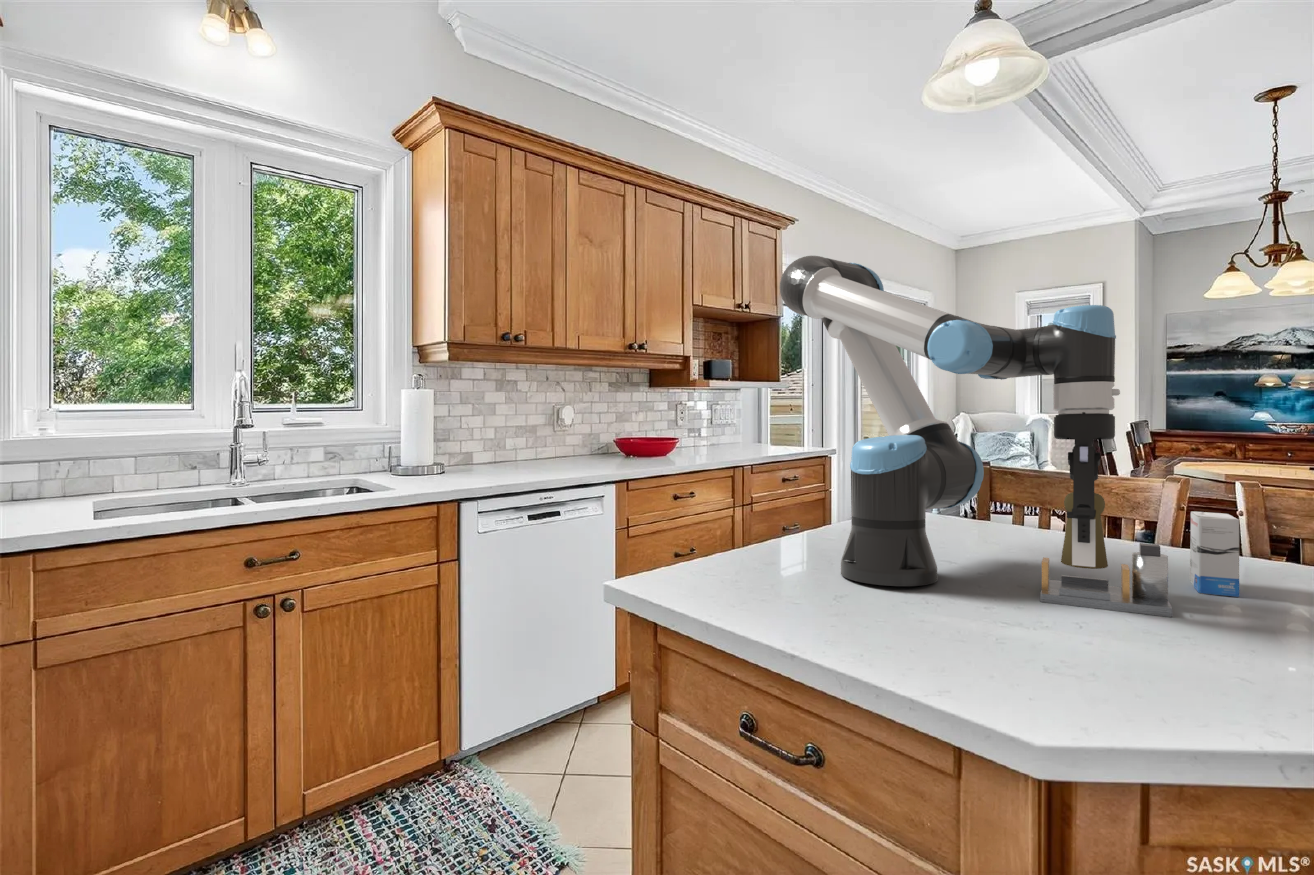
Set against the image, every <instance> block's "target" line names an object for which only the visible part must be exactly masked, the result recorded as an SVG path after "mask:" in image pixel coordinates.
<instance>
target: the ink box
mask: <svg viewBox="0 0 1314 875" xmlns="http://www.w3.org/2000/svg"><path fill="white" fill-rule="evenodd" d="M1189 543H1190V546H1189V547H1190V548H1189V549H1190V550H1189V563H1190V564H1189V581H1190V582H1191V583H1190V584H1192V586H1193V587H1194V589H1195V590H1196V591H1197V592H1198V594H1202V593H1203V594H1204V595H1213V596H1221V597H1222V596H1223V597H1224V596H1225V597H1234V598H1239V597H1240V519H1239V518H1236V517H1234V516H1233V515H1231V514H1229V513H1221V512H1209V511H1208V512H1206V511H1205V512H1204V511H1195V510H1194V511H1190V542H1189ZM1203 594H1202V595H1203Z"/></svg>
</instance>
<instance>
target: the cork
mask: <svg viewBox="0 0 1314 875" xmlns="http://www.w3.org/2000/svg"><path fill="white" fill-rule="evenodd" d="M1063 506H1064V509H1065V510H1066V512H1067V511H1069V512H1072V509H1073V492H1069V493H1067V495H1065V497H1064V500H1063ZM1094 507H1095V510H1096V517H1095V518H1094V519H1095V567H1088V566H1077V565H1072V518H1067V520H1066V524H1065V525H1066V528H1065V531H1064V532H1065V534H1064V539H1063V545H1062V550H1061V558H1060V563H1061V564H1063V565H1065V566H1067V567H1073V568H1079V569H1085V570H1086V569H1087V570H1089V569H1091V570H1097V569H1098V570H1099V569H1106V568H1108V567H1109V564H1108V557H1107V551H1106V550H1107V549H1106V543H1105V536H1104V531H1103V524H1102V516H1101V515H1102V513H1103V512H1104V511H1105V508H1106V501H1105V498H1104V497H1103V495H1102V494H1099V493H1097V492H1094Z"/></svg>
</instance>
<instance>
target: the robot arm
mask: <svg viewBox="0 0 1314 875" xmlns="http://www.w3.org/2000/svg"><path fill="white" fill-rule="evenodd" d="M780 278H781V279H780V282H779V295H780V297H781V299H782V301H783V303H784V304H785V306H786V307H787V308H788V309H789V310H791V311H792V312H793V313H796V314H798V315H802V316H805V317H808V318H811V319H816V320H820V319H821V321H822V323H823V325H824V327H825V329H826V331H827V333H828V335H829V336H830V337H831V338H832V339H838V340H839V341H841V343H842V345H843V346H842V347H844V350H845V352H846V353H847V355H848V357H849V359H850V361H851V363H852V366H853V367H854V369H855V371H856V373H857V376H858V377H859V379H860V381H861V384H862V385H863V387H864V389H865V391H866V393H867V396H868V397H869V400H870V401H871V402H872V405H873V407H874V409H875V411H876V414H877V415H878V417H879V419H880V421H881V423H882V425H883V427H884V429H885V431H886V433H887V435H886V436H876V437H868V438H863V439H860V440H858V441H856V442H855V443H854V445H853V446H852V448H851V460H850V462H849V463H850V464H849V467H850V490H851V491H850V502H851V503H850V504H851V506H850V508H851V510H850V513H851V514H850V515H851V528H850V533H849V535H848V539H847V542H846V545H845V547H844V550H843V554H842V556H841V560H840V575H841V576H842V577H843V578H845V579H847V580H851V581H855V582H858V583H864V584H869V585H878V586H885V587H887V586H888V587H889V586H891V587H918V586H927V585H932V584H935V583H937V581H938V565H937V562H936V559H935V556H934V553H933V551H932V547H931V545H930V541H929V539H928V535H927V531H926V530H927V528H926V510H927V511H928V510H934V509H943V510H944V509H952V508H955V507H957V506H960V505H964V504H966V503H968V502H969V501H971V500H972V499H973V498H974V497H976V495H977V494H978V492H979V491H980V489H981V486H982V482H983V480H984V475H985V474H984V473H985V472H984V471H985V470H984V463H983V460H982V458H981V455H980V454H979V453H978V452H977V450H975V449H974V448H973V447H972V446H970V445H969V444H967V443H966V442H965V443H964V442H962V441H960V440H959V439H958V438H957V436H956V435H955V433H954V431H953V429H952V427H951V426H950V424H949V423H948V422H947V421H943V420H940V419H937V418H936V417H935V415H934V413H933V411H932V409H931V408H930V406H929V404H928V403H927V401H926V399H925V397H924V395H923V393H922V392H921V390H920V388H919V386H918V385H917V382H916V380H915V379H914V377H913V375H912V373H911V371H910V369H909V367H908V366H907V364H906V362H905V361H904V359H903V357H902V355H901V353H900V351H899V349H898V347H899V348H901V349H902V350H906V351H908V352H911V353H913V354H916V355H918V356H921V357H923V358H926V359H928V360H930V361H931V362H932V363H933V365H934V366H936V367H937V368H938V369H940V370H943V371H945V372H949V373H954V374H957V375H965V374H968V375H969V374H970V375H977V376H978V377H979V378H980V379H983V380H1001V381H1002V380H1007V379H1010V378H1011V379H1012V378H1013V379H1014V378H1022V377H1023V378H1024V377H1034V376H1052V375H1053V386H1052V387H1053V410H1054V411H1056V412H1058V413H1057V414H1056V415H1055V416H1054V417H1053V436H1054V439H1056V440H1074V446H1073V447H1072V451H1068V452H1067V463H1068V465H1069V479H1071V480H1072V481H1073V484H1072V485H1073V486H1072V489H1073V490H1072V491H1073V509H1072V512H1069V511H1067V510H1066V518H1067V519H1068V518H1072V565H1077V566H1088V567H1095V519H1094V518H1095V517H1096V510H1095V507H1094V493H1095V481H1097V480H1099V467H1100V465H1101V452H1100V451H1098V452H1096V451H1097V450H1096V448H1095V446H1094V440H1113V439H1114V438H1115V436H1116V416H1114V413H1110V411H1112V410H1114V409H1115V396H1117V397H1118V396H1120V395H1121V391H1120V389H1119V388H1113V387H1115V380H1116V377H1115V369H1116V368H1115V367H1116V366H1115V365H1116V363H1115V362H1116V339H1117V335H1116V330H1115V326H1116V325H1115V316H1114V315H1115V314H1114V311H1113V309H1111V308H1110V307H1109V306H1105V305H1101V304H1088V305H1087V304H1085V305H1076V306H1069V307H1065V308H1060V309H1058V310H1057V311H1055V313H1054V314H1053V320H1052V324H1049V325H1044V326H1039V327H1038V326H1036V327H1031V328H1022V329H1021V328H1019V329H1014V328H1009V327H1001V326H995V325H988V324H985V323H980V322H976V321H973V320H971V319H967V318H964V317H962V316H959V315H954V314H952V313H949V312H945V311H942V310H940V309H937V308H934V307H932V306H928V305H926V304H922V303H919V302H917V301H916V302H915V301H913V300H910V299H908V298H904V297H901V296H898V295H896V294H892V293H889V292H886V291H885V289H884V285H883V282H882V280H881V278H880V276H879V275H878V273H876V272H875V271H874V270H872V269H871V268H869V267H867V266H864V265H862V264H860V263H857V262H846V261H842V260H837V259H833V258H828V257H823V256H819V255H807V256H802V257H799V258H797V259H795V260H793V261H792V262H791V263H789V265H788V266H787V267H786V268H785V269H784V272H783V273H782V275H781V277H780Z"/></svg>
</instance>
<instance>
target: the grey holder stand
mask: <svg viewBox="0 0 1314 875" xmlns="http://www.w3.org/2000/svg"><path fill="white" fill-rule="evenodd" d="M1131 557H1132V558H1131V559H1132V560H1131V564H1132V565H1131V568H1132V569H1131V572H1132V573H1131V572H1130V567H1129V564H1127V563H1126V564H1125V563H1124V564H1123V563H1120V566H1121V567H1120V585H1121V586H1113V585H1109V579H1105V578H1096V577H1085V576H1076V575H1075V576H1074V575H1068V574H1067V575H1065V574H1061V575H1060V577H1061V578H1060V580H1056V579H1055V580H1054V579H1050V557H1042V560H1041V591H1040V596H1039V598H1040V602H1041V603H1049V604H1055V605H1056V604H1057V605H1066V606H1072V607H1073V606H1075V607H1082V608H1090V609H1098V610H1106V611H1115V612H1116V611H1117V612H1125V613H1132V614H1141V615H1150V616H1158V617H1165V618H1166V617H1167V618H1173V606H1172V605H1171V603H1170V600H1169V556H1168V555H1166V554H1162V553H1161V545H1160V544H1158V543H1144V542H1143V543H1142V542H1139V551H1138V552H1137V551H1136V552H1132V553H1131ZM1130 573H1131V574H1132V575H1131V577H1132V578H1130ZM1130 579H1131V580H1132V581H1131V580H1130ZM1130 581H1131V582H1132V583H1130ZM1130 584H1131V585H1132V586H1130Z"/></svg>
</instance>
